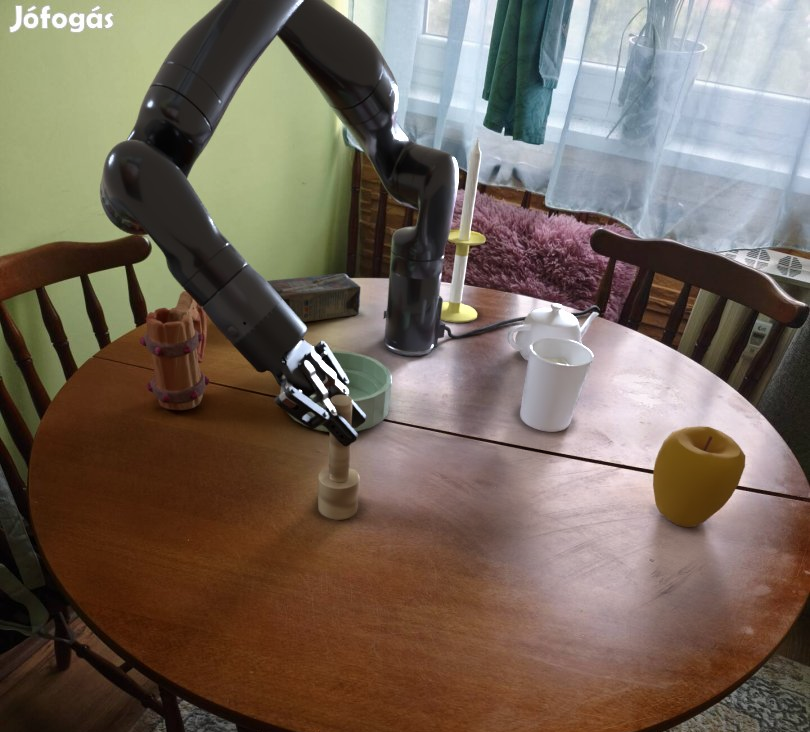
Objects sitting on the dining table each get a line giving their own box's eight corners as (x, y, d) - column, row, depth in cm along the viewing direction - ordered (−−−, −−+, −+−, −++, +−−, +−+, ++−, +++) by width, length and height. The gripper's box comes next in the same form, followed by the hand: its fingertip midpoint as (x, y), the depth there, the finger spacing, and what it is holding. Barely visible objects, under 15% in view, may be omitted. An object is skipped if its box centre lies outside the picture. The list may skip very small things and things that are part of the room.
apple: (644, 482, 102) (673, 405, 94) (719, 504, 100) (756, 427, 91) (633, 523, 94) (664, 444, 86) (714, 548, 92) (755, 468, 83)
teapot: (570, 337, 140) (583, 287, 133) (608, 364, 132) (623, 313, 125) (485, 348, 133) (495, 296, 126) (520, 378, 124) (532, 324, 118)
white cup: (538, 398, 119) (554, 331, 111) (586, 422, 114) (606, 354, 107) (503, 415, 114) (517, 347, 106) (551, 441, 109) (569, 372, 101)
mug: (192, 422, 104) (180, 326, 94) (141, 413, 104) (124, 317, 95) (230, 379, 115) (223, 289, 105) (184, 370, 115) (172, 280, 106)
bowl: (353, 375, 119) (355, 343, 116) (408, 420, 110) (412, 386, 106) (266, 396, 111) (264, 362, 107) (317, 447, 102) (317, 411, 98)
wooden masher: (344, 491, 94) (348, 385, 84) (365, 512, 91) (372, 405, 81) (310, 502, 92) (310, 394, 81) (330, 524, 88) (333, 415, 78)
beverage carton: (361, 315, 139) (362, 283, 135) (272, 329, 130) (270, 295, 126) (343, 300, 144) (344, 268, 140) (255, 313, 135) (254, 279, 131)
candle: (482, 309, 147) (511, 136, 126) (469, 326, 140) (497, 145, 119) (438, 299, 149) (459, 127, 128) (423, 315, 142) (442, 135, 121)
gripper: (254, 325, 69) (365, 448, 76) (297, 277, 80) (391, 389, 87) (208, 365, 73) (318, 479, 80) (255, 314, 84) (349, 418, 91)
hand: (356, 431), depth 83 cm, fingers open, 3 cm apart
